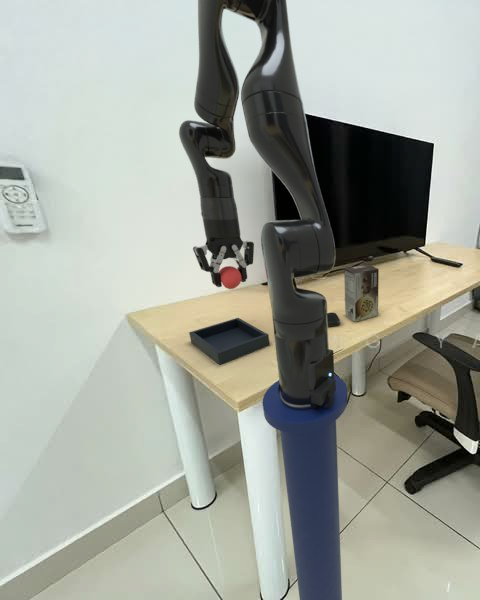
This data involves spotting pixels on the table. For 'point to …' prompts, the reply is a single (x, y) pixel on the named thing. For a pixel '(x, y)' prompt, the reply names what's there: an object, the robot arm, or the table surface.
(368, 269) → the coffee box
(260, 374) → the table surface
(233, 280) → the stress ball
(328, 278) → the table surface
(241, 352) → the tray
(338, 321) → the phone
